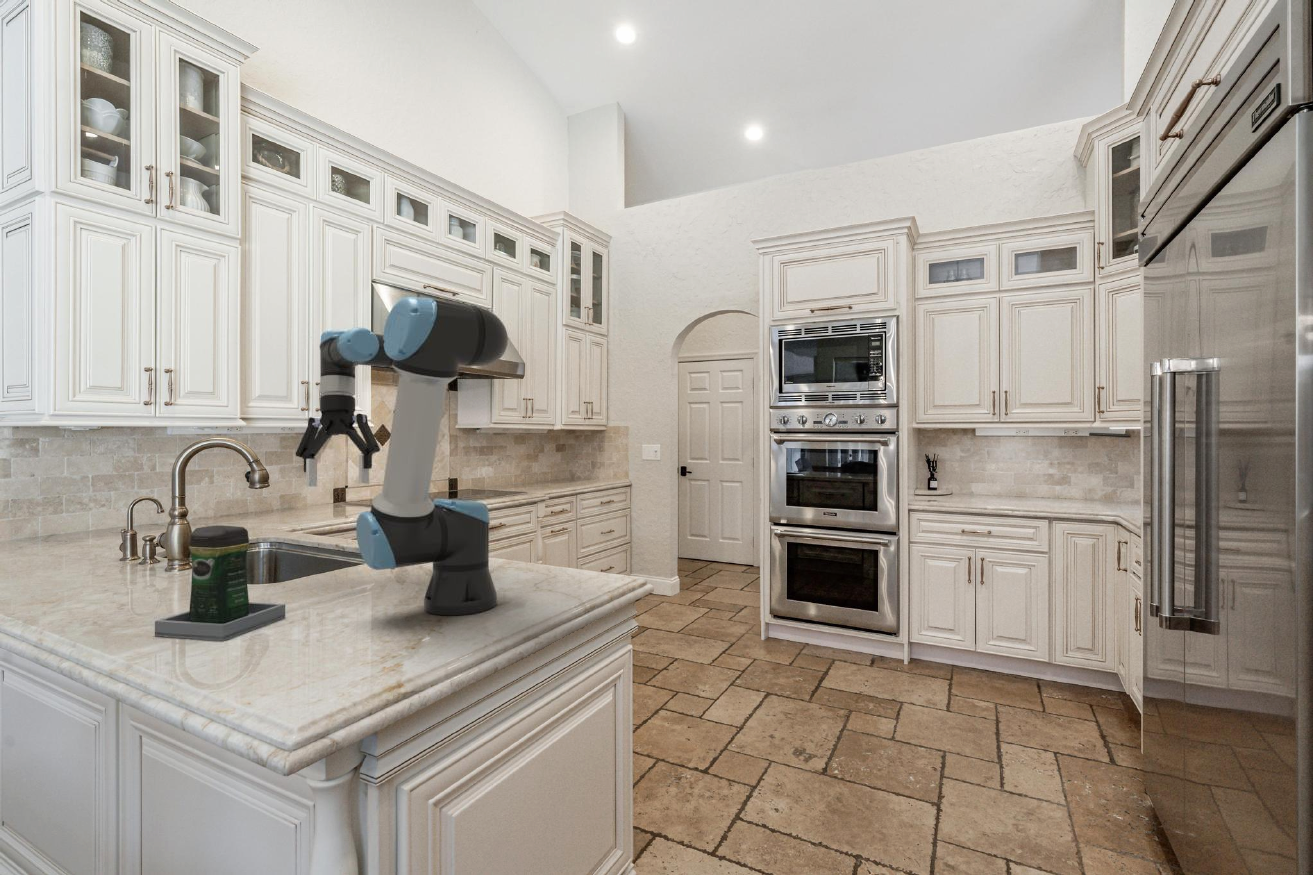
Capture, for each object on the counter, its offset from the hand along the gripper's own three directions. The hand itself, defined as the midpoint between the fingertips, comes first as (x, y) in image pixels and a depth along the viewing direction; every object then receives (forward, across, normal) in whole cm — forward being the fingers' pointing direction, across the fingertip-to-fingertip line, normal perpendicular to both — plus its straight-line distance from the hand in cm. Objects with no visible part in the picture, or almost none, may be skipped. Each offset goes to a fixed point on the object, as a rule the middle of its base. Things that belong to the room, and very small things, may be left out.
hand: (337, 484), depth 146 cm
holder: (+28, +6, +25) cm, 38 cm away
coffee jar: (+27, +8, +24) cm, 37 cm away
